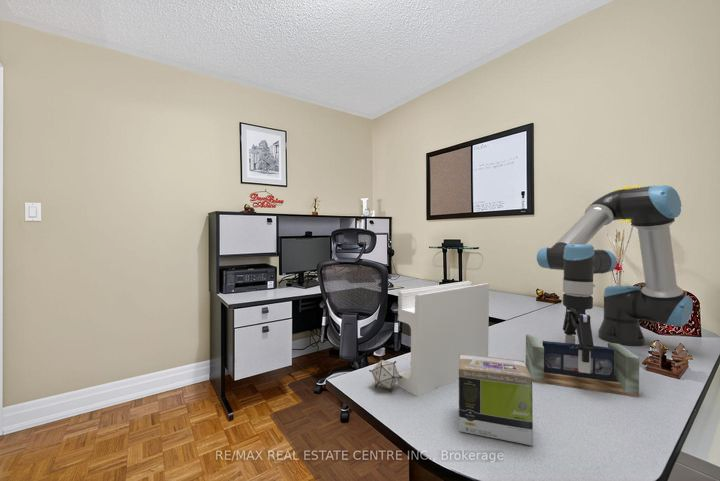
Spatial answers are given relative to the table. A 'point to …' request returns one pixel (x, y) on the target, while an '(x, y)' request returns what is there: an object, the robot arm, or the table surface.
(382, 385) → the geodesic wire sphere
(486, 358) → the tea box
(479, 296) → the block
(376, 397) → the table surface
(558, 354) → the vhs cassette tape
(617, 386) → the cassette cradle
